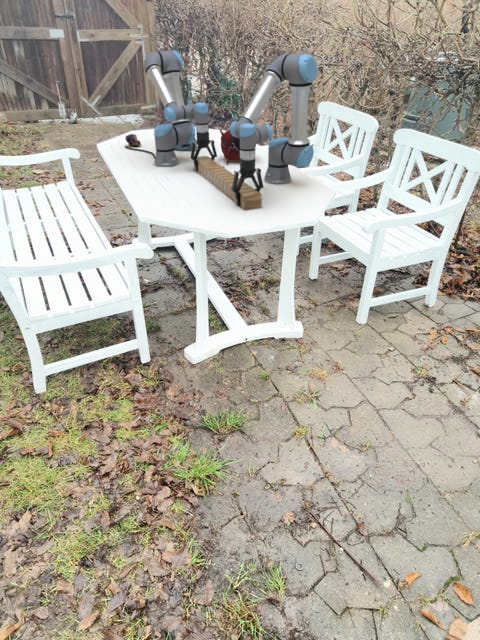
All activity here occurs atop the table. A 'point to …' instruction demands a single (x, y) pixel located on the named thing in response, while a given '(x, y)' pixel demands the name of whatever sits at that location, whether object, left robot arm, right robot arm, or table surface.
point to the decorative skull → (230, 146)
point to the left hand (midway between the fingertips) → (204, 169)
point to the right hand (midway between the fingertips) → (247, 203)
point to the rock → (132, 140)
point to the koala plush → (185, 146)
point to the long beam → (228, 183)
